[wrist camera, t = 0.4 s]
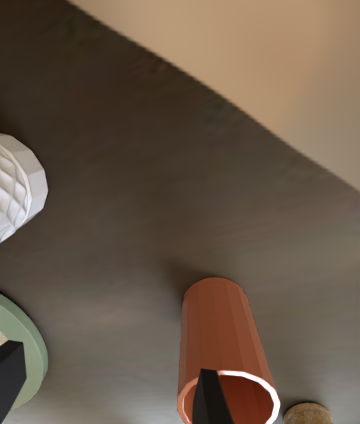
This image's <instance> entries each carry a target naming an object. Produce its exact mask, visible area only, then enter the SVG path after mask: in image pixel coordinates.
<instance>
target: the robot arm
mask: <svg viewBox="0 0 360 424" xmlns="http://www.w3.org/2000/svg"><path fill="white" fill-rule="evenodd" d="M26 379H27V374H26V364H25V354H24V344H23V342H19V341H13V340H8V341H6V342H5V343H3V344H2V345H1V346H0V424H1V423H2V422H3V420H4V419H5V417H6V415H7V414H8V412H9V411H10V409H11V407H12V406H13V404H14V402H15V400H16V398H17V396H18V395H19V393H20V391H21V389H22V387H23V385H24V383H25V381H26ZM192 424H235V423H234V421H233V418H232V415H231V413H230V410H229V407H228V404H227V401H226V398H225V395H224V392H223V389H222V386H221V382H220V379H219V375H218V372H217V371H216V370H210V369H204V368H201V369H200V374H199V378H198V382H197V386H196V391H195V395H194V399H193V410H192Z"/></svg>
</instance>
